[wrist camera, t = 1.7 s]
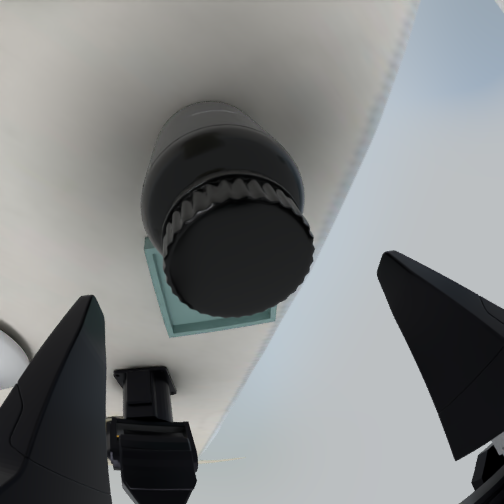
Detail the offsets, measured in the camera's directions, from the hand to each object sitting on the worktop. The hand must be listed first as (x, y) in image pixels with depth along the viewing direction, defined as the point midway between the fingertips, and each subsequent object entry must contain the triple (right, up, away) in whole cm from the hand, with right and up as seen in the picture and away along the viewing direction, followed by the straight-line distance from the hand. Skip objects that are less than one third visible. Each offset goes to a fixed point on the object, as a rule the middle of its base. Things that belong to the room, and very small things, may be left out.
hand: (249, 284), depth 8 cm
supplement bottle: (-3, +8, +10) cm, 13 cm away
